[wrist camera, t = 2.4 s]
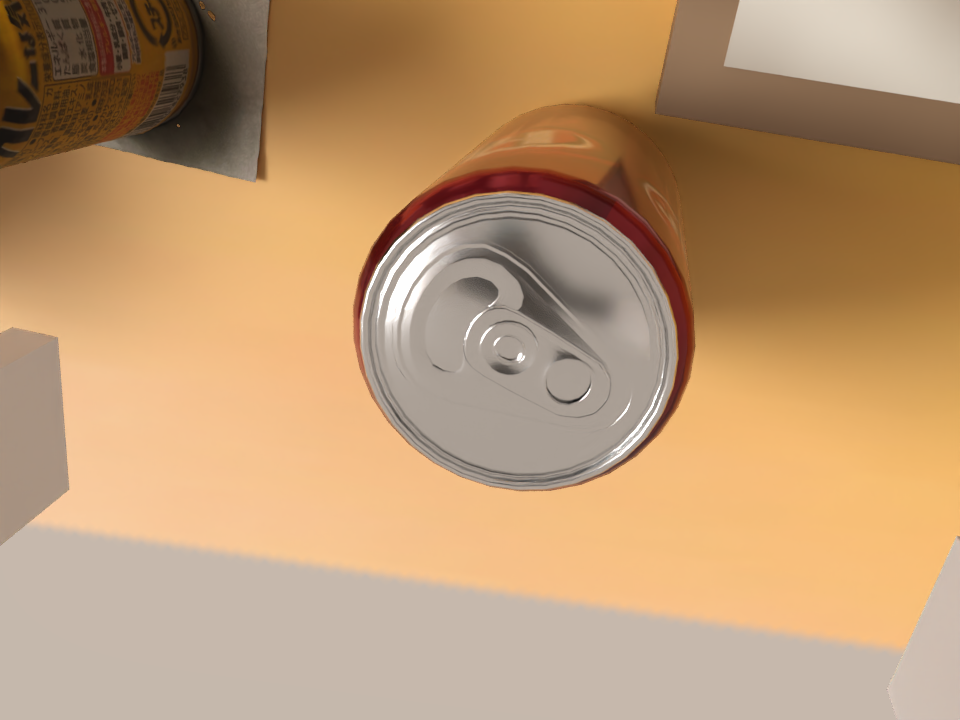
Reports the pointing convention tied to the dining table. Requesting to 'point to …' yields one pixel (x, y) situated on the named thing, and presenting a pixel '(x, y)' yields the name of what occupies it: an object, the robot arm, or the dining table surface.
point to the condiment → (134, 80)
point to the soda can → (533, 304)
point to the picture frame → (821, 71)
